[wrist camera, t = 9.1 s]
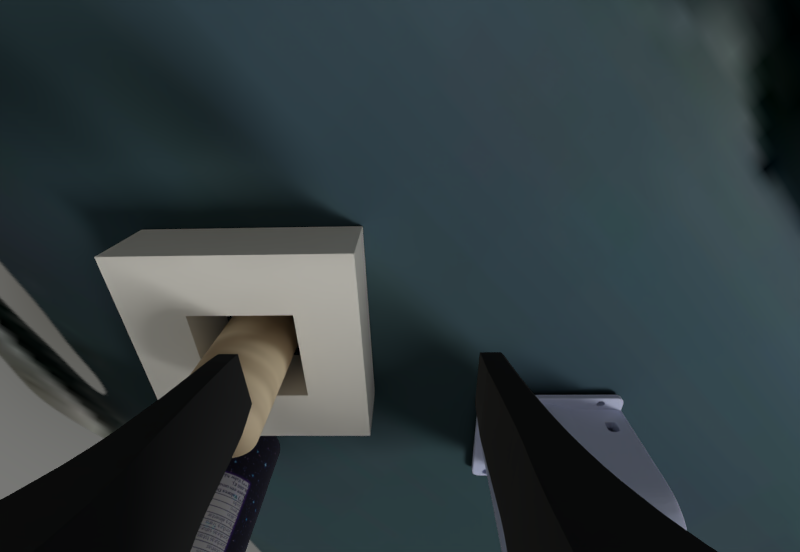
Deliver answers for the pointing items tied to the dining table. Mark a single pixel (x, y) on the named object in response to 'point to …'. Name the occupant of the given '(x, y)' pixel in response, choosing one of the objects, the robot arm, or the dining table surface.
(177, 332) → the socket block
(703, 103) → the dining table surface
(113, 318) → the dining table surface
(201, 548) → the beverage can
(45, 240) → the dining table surface
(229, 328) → the beech peg
